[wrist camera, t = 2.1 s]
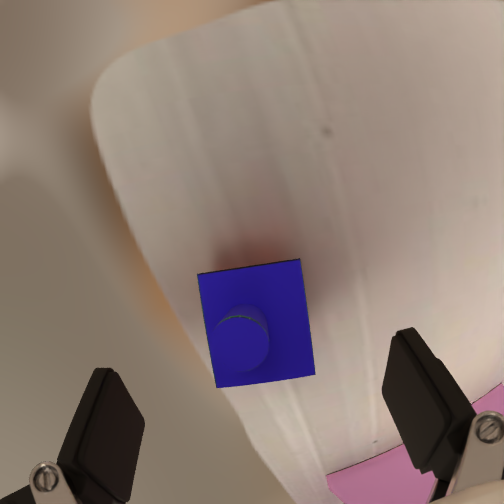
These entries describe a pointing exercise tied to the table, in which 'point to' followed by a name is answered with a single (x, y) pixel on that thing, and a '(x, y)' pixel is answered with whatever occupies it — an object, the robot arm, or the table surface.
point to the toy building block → (257, 323)
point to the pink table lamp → (396, 471)
